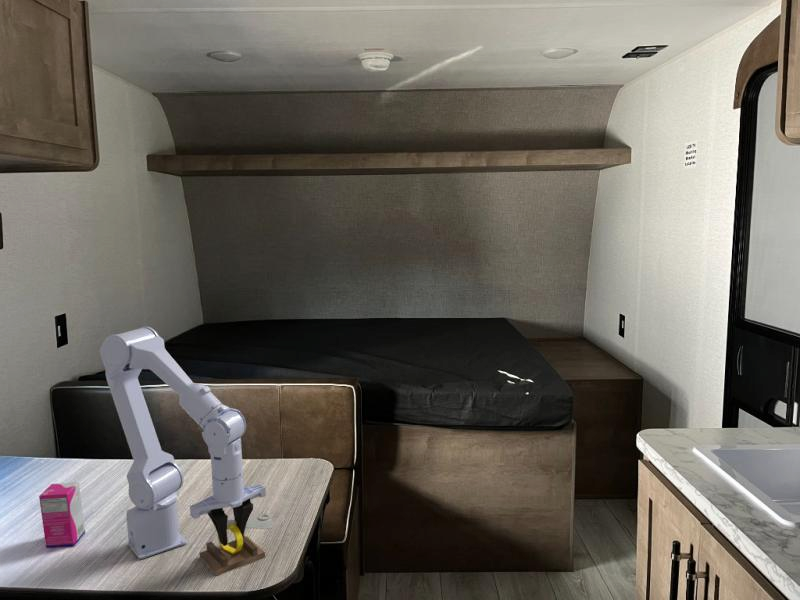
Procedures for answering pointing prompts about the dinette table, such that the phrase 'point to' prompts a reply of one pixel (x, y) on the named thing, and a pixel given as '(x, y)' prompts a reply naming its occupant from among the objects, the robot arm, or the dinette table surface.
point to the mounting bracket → (260, 522)
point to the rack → (230, 556)
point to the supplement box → (62, 515)
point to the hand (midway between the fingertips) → (231, 540)
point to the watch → (239, 539)
